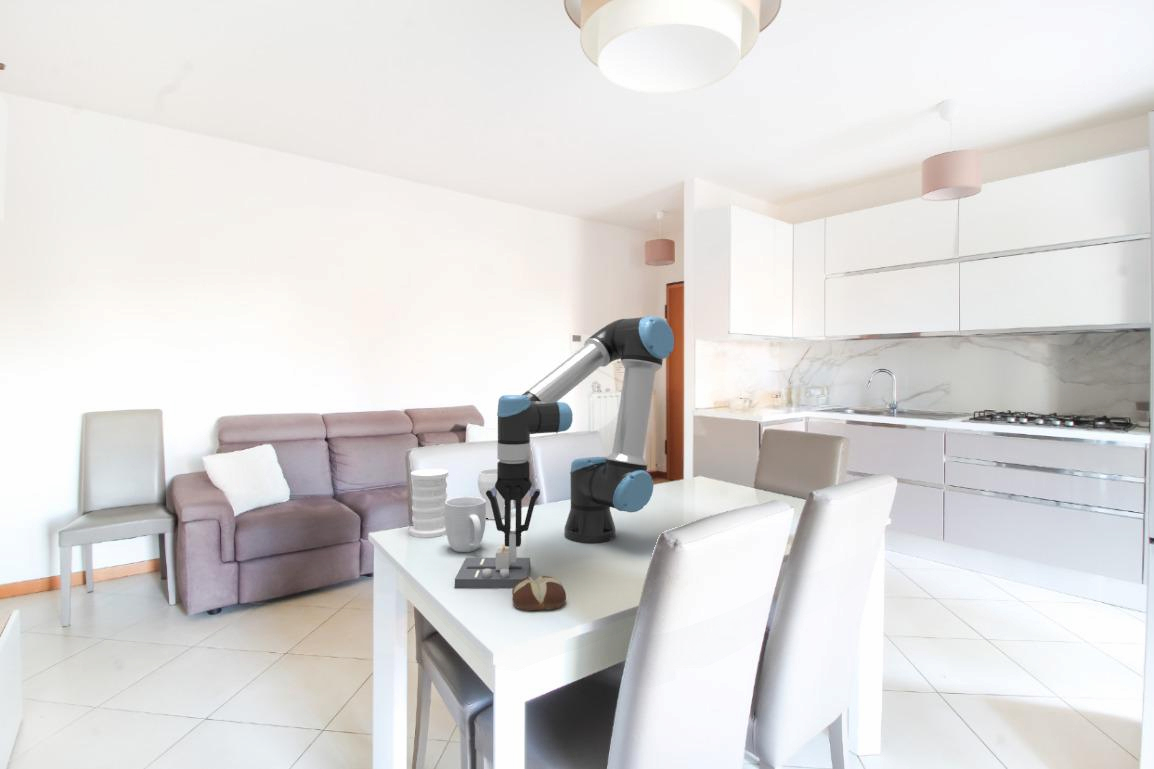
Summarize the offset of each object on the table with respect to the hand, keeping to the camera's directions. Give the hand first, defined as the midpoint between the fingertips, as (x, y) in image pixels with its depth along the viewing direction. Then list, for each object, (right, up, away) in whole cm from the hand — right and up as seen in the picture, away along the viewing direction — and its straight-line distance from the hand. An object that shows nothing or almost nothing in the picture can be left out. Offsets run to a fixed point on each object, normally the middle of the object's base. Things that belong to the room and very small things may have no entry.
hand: (512, 559), depth 131 cm
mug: (-15, -4, +19) cm, 24 cm away
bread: (+7, -5, -13) cm, 16 cm away
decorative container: (-29, -3, +35) cm, 45 cm away
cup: (-12, -2, +52) cm, 53 cm away
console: (-4, -4, 0) cm, 6 cm away
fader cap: (-2, -2, 0) cm, 3 cm away
